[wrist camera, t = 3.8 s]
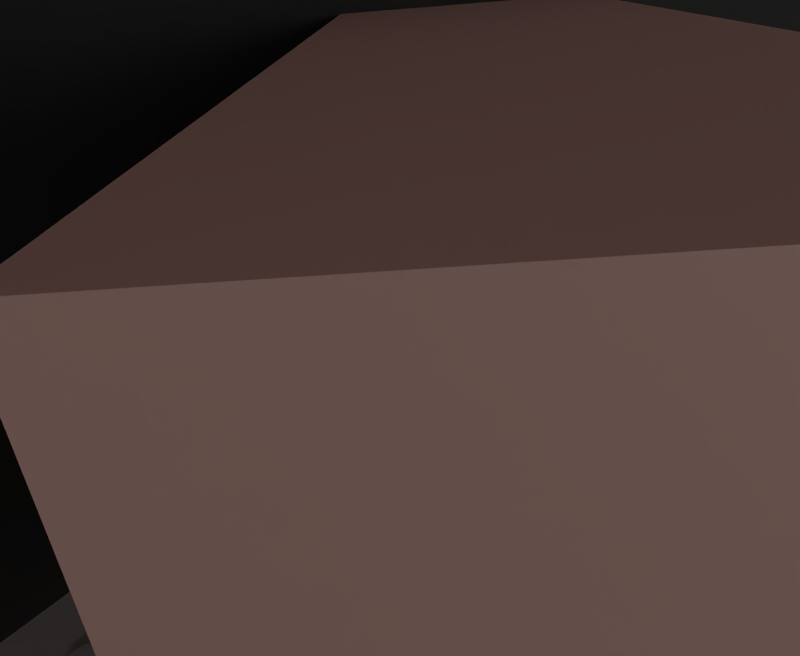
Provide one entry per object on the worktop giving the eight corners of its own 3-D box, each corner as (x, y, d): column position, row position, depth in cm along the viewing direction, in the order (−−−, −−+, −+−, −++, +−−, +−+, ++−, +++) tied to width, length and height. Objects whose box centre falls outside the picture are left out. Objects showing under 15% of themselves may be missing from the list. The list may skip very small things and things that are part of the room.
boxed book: (586, -7, 14) (1700, 185, 2) (567, 464, 20) (830, 1300, 7) (338, 14, 15) (-62, 299, 2) (386, 473, 20) (349, 1299, 8)
